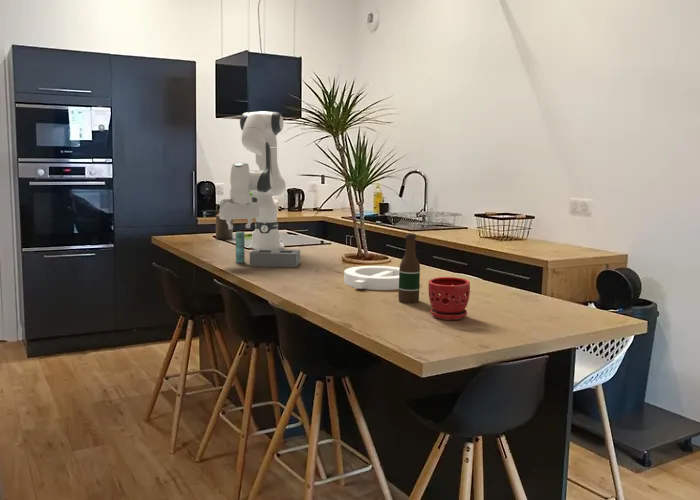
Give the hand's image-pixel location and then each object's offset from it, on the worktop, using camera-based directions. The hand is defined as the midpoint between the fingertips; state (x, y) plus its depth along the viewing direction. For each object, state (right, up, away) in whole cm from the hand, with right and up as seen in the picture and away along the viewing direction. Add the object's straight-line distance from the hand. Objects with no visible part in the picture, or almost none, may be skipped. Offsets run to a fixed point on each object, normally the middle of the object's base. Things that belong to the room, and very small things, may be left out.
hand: (239, 228), depth 308 cm
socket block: (+17, -16, -1) cm, 23 cm away
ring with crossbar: (+63, -23, -38) cm, 77 cm away
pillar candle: (-22, -3, +82) cm, 85 cm away
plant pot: (+82, -32, -92) cm, 128 cm away
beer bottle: (+72, -28, -71) cm, 105 cm away
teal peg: (0, -15, +3) cm, 16 cm away
